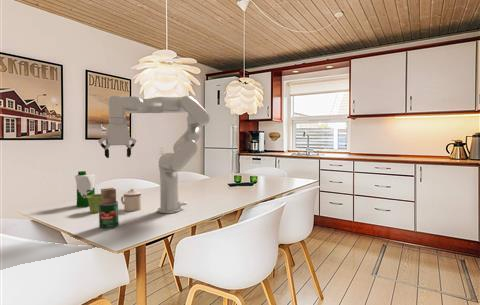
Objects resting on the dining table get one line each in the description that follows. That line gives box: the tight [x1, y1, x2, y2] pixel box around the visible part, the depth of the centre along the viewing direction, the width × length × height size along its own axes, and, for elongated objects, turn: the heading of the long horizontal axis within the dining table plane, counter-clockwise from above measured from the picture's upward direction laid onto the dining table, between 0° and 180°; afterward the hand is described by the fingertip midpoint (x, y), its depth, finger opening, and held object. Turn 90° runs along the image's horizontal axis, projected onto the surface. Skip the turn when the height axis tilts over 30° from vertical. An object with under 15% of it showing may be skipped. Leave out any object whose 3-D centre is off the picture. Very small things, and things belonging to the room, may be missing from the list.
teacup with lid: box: [120, 188, 142, 212], centre depth 155 cm, size 12×9×12 cm
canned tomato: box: [98, 200, 120, 231], centre depth 125 cm, size 8×8×11 cm
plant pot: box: [86, 193, 101, 214], centre depth 150 cm, size 9×9×9 cm
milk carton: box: [74, 170, 96, 208], centre depth 164 cm, size 9×9×20 cm
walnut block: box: [100, 187, 117, 204], centre depth 124 cm, size 5×5×6 cm
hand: (118, 157), depth 136 cm, fingers open, 9 cm apart
